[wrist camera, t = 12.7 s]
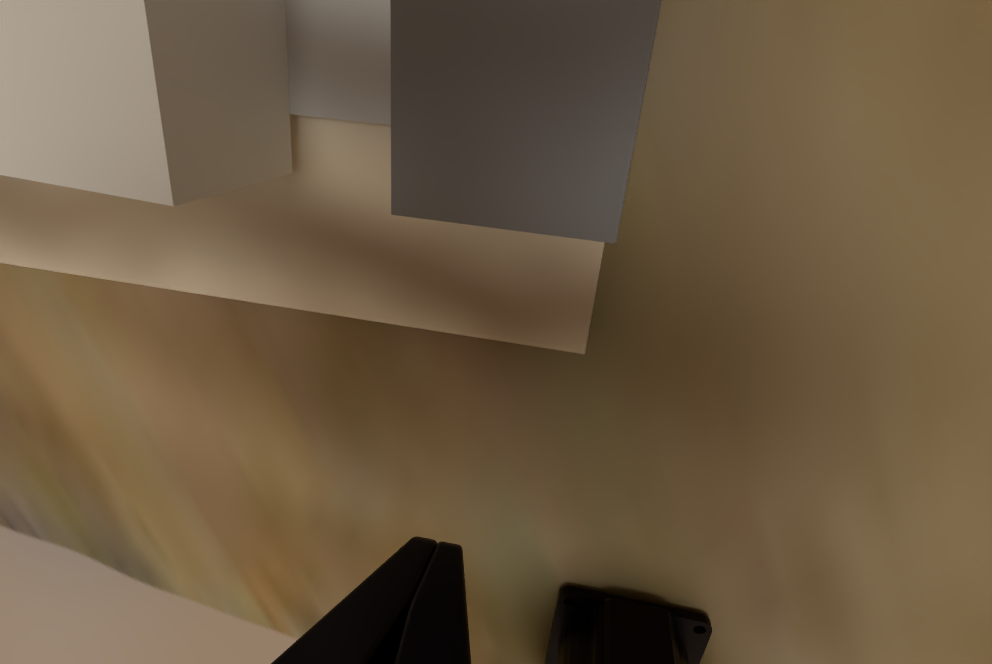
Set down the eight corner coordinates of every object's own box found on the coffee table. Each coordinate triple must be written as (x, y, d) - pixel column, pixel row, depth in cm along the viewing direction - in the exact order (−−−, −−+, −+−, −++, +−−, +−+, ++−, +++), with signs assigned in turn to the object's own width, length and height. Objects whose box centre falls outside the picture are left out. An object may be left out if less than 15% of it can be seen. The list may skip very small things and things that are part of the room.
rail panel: (585, 341, 18) (579, 434, 13) (-10, 250, 21) (-193, 298, 16) (728, -465, 10) (841, -954, 6) (-246, -430, 13) (-732, -728, 9)
